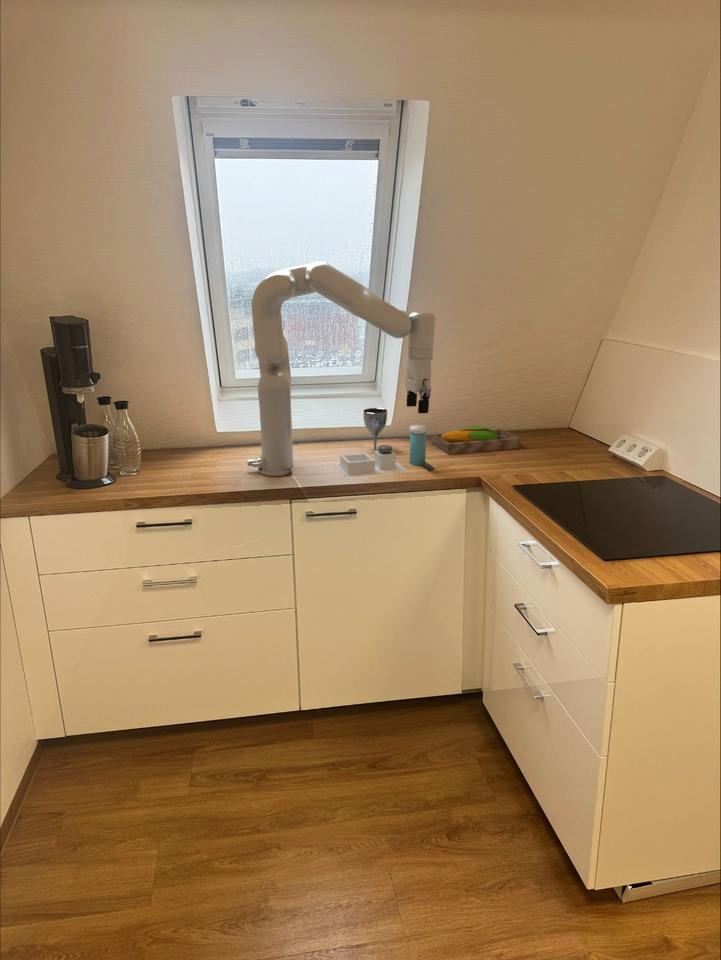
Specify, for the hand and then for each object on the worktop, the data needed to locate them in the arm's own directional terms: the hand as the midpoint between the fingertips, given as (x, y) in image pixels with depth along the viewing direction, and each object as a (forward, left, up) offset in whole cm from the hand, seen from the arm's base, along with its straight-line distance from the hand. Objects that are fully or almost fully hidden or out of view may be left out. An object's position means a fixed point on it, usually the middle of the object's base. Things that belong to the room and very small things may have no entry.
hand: (417, 409), depth 206 cm
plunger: (-10, 0, -17) cm, 20 cm away
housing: (-15, 0, -19) cm, 24 cm away
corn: (+27, +17, -19) cm, 37 cm away
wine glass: (-7, +19, -19) cm, 28 cm away
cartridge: (+1, 0, -18) cm, 18 cm away
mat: (+1, 0, -19) cm, 19 cm away
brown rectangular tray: (+30, +18, -19) cm, 39 cm away
